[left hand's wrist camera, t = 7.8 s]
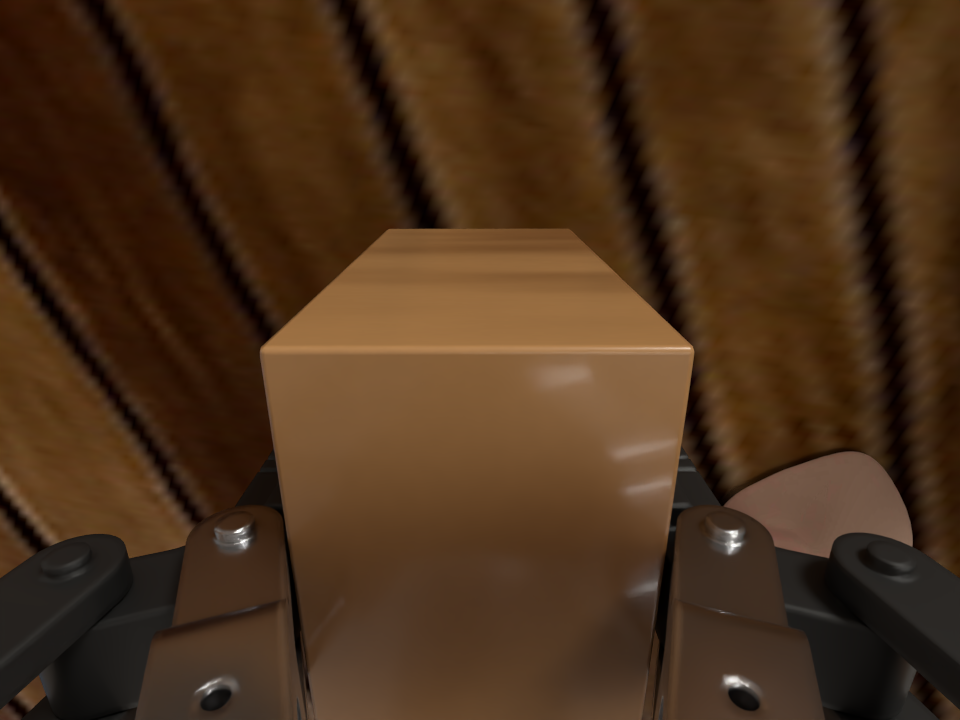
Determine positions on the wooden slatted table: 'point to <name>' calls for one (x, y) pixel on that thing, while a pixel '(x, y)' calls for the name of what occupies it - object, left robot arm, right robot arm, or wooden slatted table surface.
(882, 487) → the anatomical model
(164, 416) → the wooden slatted table surface
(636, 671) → the bar
